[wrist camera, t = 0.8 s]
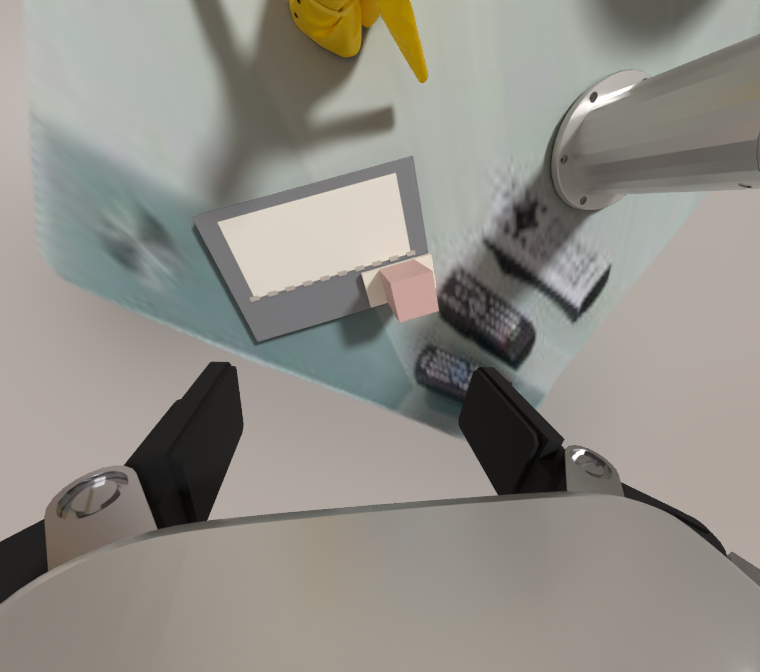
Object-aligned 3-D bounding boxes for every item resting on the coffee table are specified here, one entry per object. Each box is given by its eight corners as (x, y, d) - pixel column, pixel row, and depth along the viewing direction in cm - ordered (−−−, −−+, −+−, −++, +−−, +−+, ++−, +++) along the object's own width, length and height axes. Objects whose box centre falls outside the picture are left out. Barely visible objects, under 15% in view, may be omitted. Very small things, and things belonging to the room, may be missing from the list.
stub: (429, 253, 30) (453, 264, 24) (434, 286, 32) (458, 305, 26) (361, 272, 30) (368, 289, 24) (370, 305, 32) (379, 328, 26)
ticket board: (408, 158, 28) (413, 155, 26) (429, 286, 34) (434, 290, 32) (198, 216, 27) (190, 216, 25) (260, 336, 33) (257, 342, 32)
